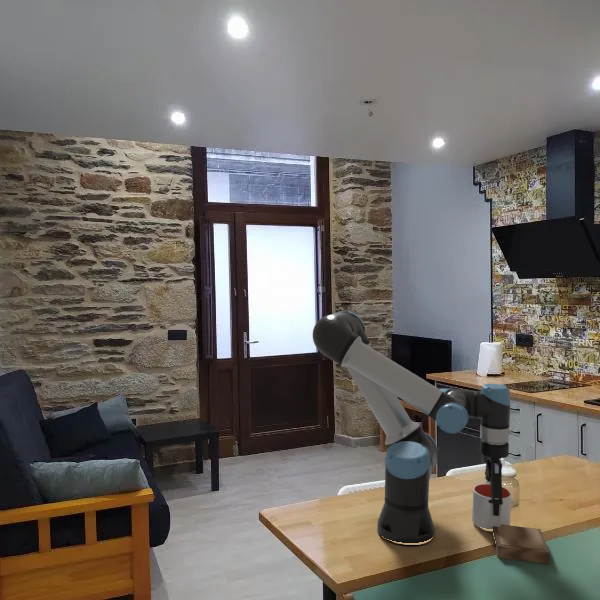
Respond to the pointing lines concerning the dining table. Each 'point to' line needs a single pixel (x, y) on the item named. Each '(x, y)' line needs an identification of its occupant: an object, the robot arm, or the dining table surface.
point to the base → (521, 544)
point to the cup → (483, 506)
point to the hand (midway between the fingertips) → (492, 515)
